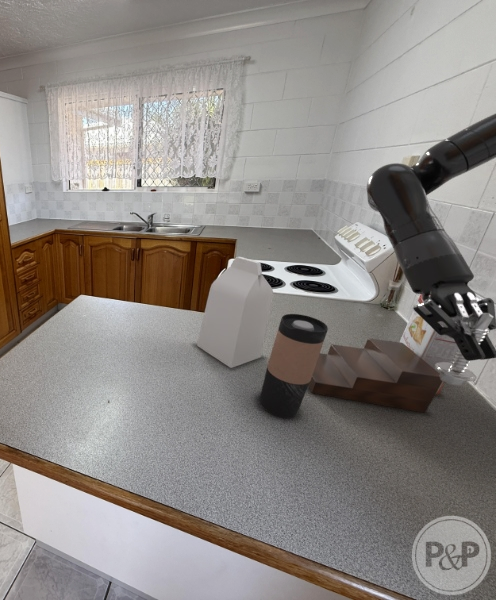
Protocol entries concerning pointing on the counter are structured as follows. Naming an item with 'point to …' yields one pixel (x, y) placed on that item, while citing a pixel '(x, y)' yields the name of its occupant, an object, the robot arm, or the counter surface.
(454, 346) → the cracker box
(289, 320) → the travel mug
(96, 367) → the counter surface
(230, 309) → the milk
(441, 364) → the screw
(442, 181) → the robot arm
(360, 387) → the shelf stand
